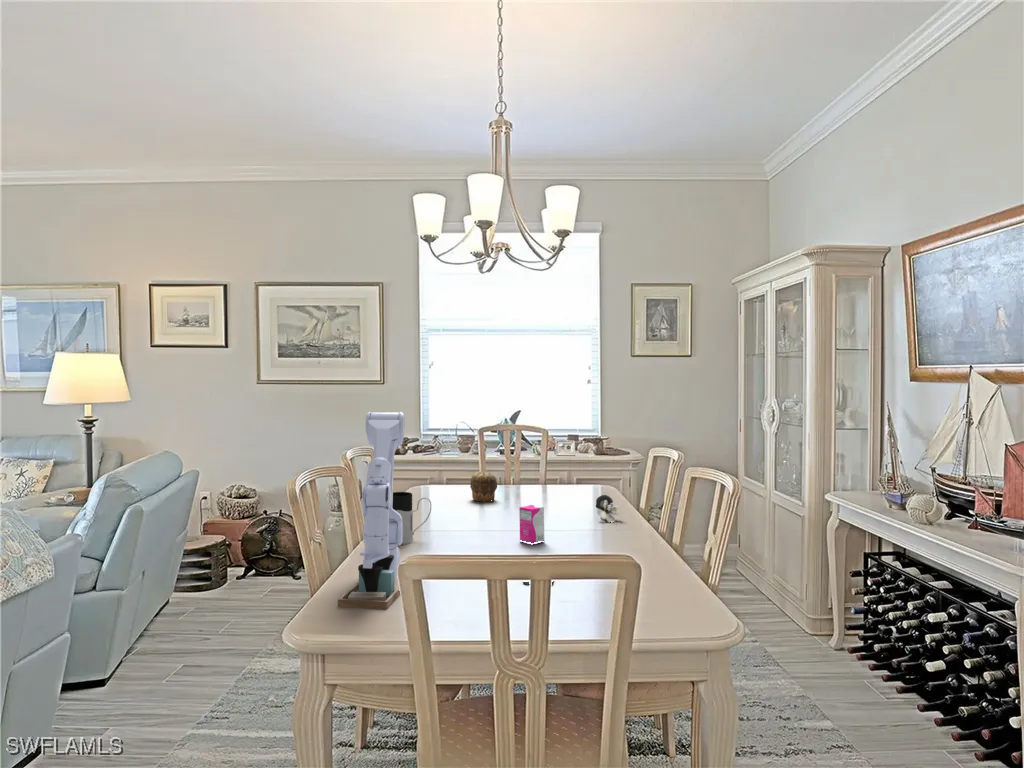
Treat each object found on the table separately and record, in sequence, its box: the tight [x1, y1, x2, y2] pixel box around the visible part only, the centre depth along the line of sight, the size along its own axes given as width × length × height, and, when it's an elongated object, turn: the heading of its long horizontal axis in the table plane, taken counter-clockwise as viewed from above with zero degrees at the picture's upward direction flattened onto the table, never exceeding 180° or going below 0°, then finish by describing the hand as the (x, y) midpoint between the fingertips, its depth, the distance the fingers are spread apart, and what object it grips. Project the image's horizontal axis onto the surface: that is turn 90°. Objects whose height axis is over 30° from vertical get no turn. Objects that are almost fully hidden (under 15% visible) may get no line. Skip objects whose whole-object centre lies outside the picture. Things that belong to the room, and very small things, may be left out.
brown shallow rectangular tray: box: [337, 581, 401, 610], centre depth 180 cm, size 14×12×3 cm
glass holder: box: [389, 491, 432, 545], centre depth 244 cm, size 9×14×15 cm, turn 95°
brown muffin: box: [469, 471, 498, 502], centre depth 314 cm, size 11×11×12 cm
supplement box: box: [519, 504, 545, 543], centre depth 243 cm, size 6×6×12 cm
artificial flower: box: [595, 494, 620, 523], centre depth 284 cm, size 9×22×10 cm, turn 171°
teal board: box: [358, 570, 395, 597], centre depth 184 cm, size 2×8×7 cm, turn 82°
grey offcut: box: [348, 591, 387, 601], centre depth 177 cm, size 4×8×2 cm, turn 89°
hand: (376, 590), depth 184 cm, fingers open, 7 cm apart
